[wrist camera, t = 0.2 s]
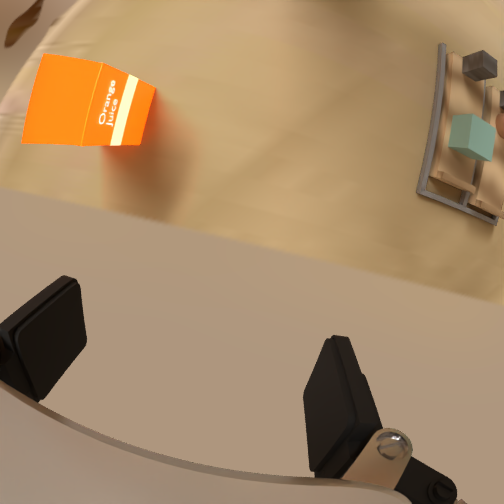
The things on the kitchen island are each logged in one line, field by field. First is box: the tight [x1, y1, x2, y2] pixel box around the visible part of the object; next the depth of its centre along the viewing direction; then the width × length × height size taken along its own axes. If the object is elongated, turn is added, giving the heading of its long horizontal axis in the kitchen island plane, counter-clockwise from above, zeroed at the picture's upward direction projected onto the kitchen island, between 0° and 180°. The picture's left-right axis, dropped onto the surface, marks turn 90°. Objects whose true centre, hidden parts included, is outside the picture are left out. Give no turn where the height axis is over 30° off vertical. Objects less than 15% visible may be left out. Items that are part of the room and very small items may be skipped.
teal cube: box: [448, 113, 496, 162], centre depth 29 cm, size 5×5×5 cm
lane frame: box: [416, 43, 499, 226], centre depth 32 cm, size 26×19×1 cm
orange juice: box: [21, 53, 155, 146], centre depth 26 cm, size 8×9×20 cm
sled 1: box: [429, 50, 497, 194], centre depth 29 cm, size 21×7×8 cm, turn 169°
